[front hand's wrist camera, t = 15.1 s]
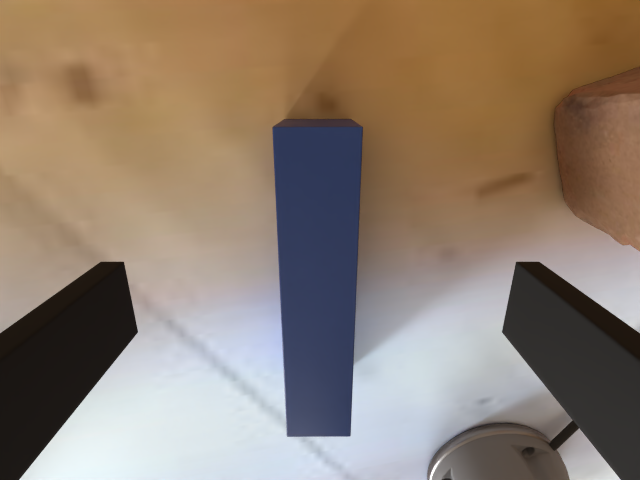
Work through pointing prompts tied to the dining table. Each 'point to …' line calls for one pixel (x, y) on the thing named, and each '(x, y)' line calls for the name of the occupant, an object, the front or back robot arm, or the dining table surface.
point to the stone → (602, 154)
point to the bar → (318, 268)
